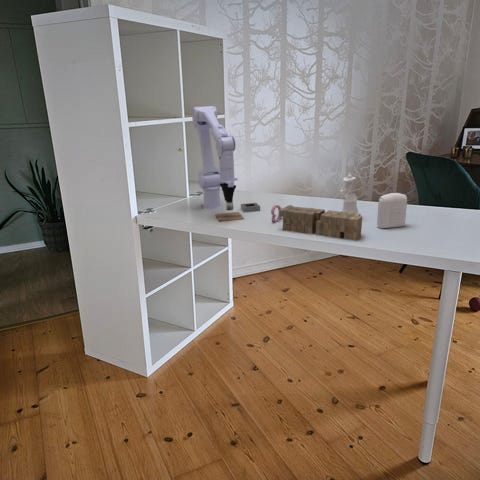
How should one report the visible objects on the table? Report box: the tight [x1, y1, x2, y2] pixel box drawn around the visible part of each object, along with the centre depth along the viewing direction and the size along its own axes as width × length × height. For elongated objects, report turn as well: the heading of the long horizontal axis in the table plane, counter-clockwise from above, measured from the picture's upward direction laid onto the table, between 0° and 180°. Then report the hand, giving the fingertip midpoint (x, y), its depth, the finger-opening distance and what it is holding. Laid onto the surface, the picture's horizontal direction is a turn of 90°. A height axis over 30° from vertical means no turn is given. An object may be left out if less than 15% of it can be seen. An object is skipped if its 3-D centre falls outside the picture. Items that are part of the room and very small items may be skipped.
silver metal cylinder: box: [225, 200, 234, 211], centre depth 176 cm, size 3×3×6 cm
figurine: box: [339, 172, 359, 214], centre depth 168 cm, size 7×8×18 cm
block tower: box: [278, 204, 363, 241], centre depth 155 cm, size 8×8×29 cm
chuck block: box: [240, 202, 261, 213], centre depth 188 cm, size 7×7×2 cm
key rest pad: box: [214, 211, 245, 223], centre depth 178 cm, size 10×10×1 cm
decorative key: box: [270, 204, 283, 223], centre depth 175 cm, size 7×1×20 cm
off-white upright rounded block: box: [376, 192, 408, 229], centre depth 156 cm, size 10×4×12 cm, turn 103°
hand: (228, 201), depth 176 cm, fingers closed on silver metal cylinder, 3 cm apart
